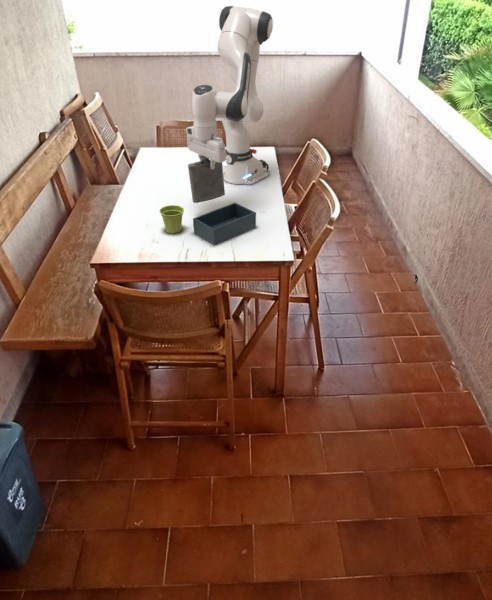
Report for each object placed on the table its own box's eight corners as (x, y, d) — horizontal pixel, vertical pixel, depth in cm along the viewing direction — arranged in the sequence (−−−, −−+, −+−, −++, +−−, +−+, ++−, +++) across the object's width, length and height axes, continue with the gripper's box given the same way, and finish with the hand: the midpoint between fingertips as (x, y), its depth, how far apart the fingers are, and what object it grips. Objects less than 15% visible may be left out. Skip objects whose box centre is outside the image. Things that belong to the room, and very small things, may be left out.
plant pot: (164, 224, 197) (161, 204, 192) (187, 224, 197) (185, 205, 191) (159, 235, 189) (157, 215, 184) (183, 236, 189) (181, 215, 184)
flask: (226, 195, 203) (223, 153, 191) (195, 204, 198) (189, 161, 186) (223, 192, 205) (219, 150, 194) (191, 200, 200) (186, 158, 189)
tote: (235, 216, 203) (235, 202, 199) (255, 227, 195) (256, 212, 192) (193, 233, 191) (192, 218, 187) (214, 245, 183) (213, 229, 180)
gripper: (229, 136, 181) (230, 172, 189) (196, 124, 193) (198, 158, 201) (216, 140, 177) (218, 176, 186) (183, 127, 189) (186, 162, 198)
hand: (207, 166), depth 193 cm, fingers closed on flask, 4 cm apart
